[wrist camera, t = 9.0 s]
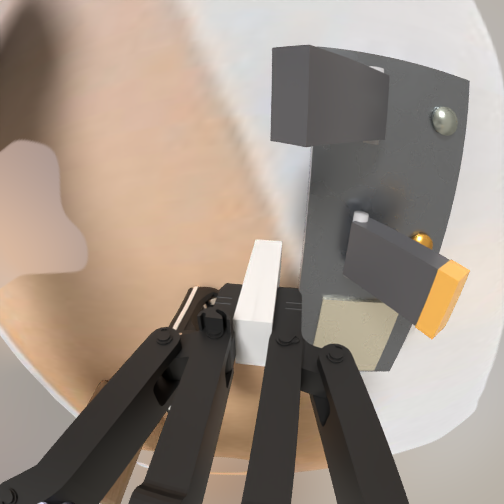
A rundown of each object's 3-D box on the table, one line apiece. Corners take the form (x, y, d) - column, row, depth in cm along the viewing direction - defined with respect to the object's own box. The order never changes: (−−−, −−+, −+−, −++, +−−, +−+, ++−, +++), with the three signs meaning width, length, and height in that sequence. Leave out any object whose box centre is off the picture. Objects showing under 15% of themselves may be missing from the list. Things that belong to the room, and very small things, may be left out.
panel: (289, 353, 30) (287, 370, 28) (314, 51, 16) (316, 45, 14) (386, 357, 29) (389, 374, 27) (456, 80, 15) (472, 81, 13)
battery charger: (243, 335, 30) (219, 433, 20) (209, 336, 31) (177, 428, 21) (226, 280, 27) (188, 384, 17) (188, 283, 27) (138, 379, 18)
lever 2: (336, 275, 21) (429, 343, 14) (346, 213, 18) (461, 276, 12) (353, 268, 22) (443, 329, 15) (364, 208, 19) (472, 265, 13)
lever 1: (361, 140, 17) (270, 150, 12) (365, 68, 15) (272, 38, 9) (387, 145, 16) (305, 157, 11) (392, 70, 13) (309, 35, 8)
